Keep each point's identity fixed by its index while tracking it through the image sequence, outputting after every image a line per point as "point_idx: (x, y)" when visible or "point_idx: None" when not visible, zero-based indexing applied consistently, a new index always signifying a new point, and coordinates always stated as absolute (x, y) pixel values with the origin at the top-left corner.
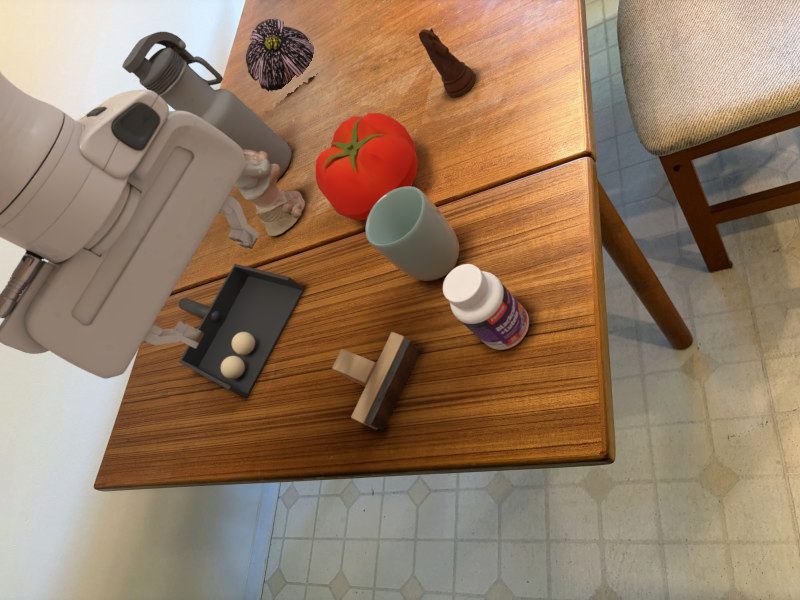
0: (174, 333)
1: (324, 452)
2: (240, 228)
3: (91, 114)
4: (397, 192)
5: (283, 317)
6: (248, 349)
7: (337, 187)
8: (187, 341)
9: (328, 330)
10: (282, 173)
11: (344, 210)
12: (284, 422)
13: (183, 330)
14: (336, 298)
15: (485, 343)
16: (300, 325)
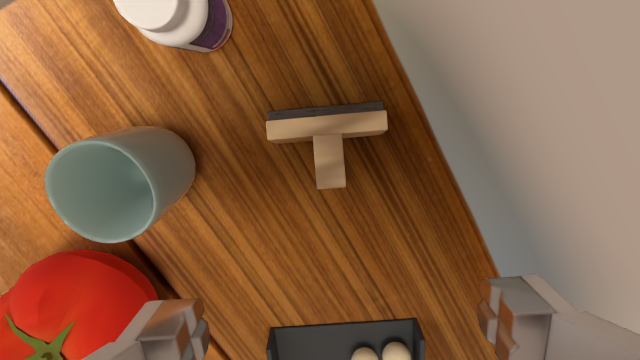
0: (578, 341)
1: (429, 172)
2: (136, 352)
3: None
4: (67, 215)
5: (314, 332)
6: (368, 351)
7: (112, 338)
8: (552, 294)
9: (303, 260)
10: None
11: None
12: (420, 248)
13: (538, 325)
14: (264, 275)
15: (229, 20)
16: (313, 303)
